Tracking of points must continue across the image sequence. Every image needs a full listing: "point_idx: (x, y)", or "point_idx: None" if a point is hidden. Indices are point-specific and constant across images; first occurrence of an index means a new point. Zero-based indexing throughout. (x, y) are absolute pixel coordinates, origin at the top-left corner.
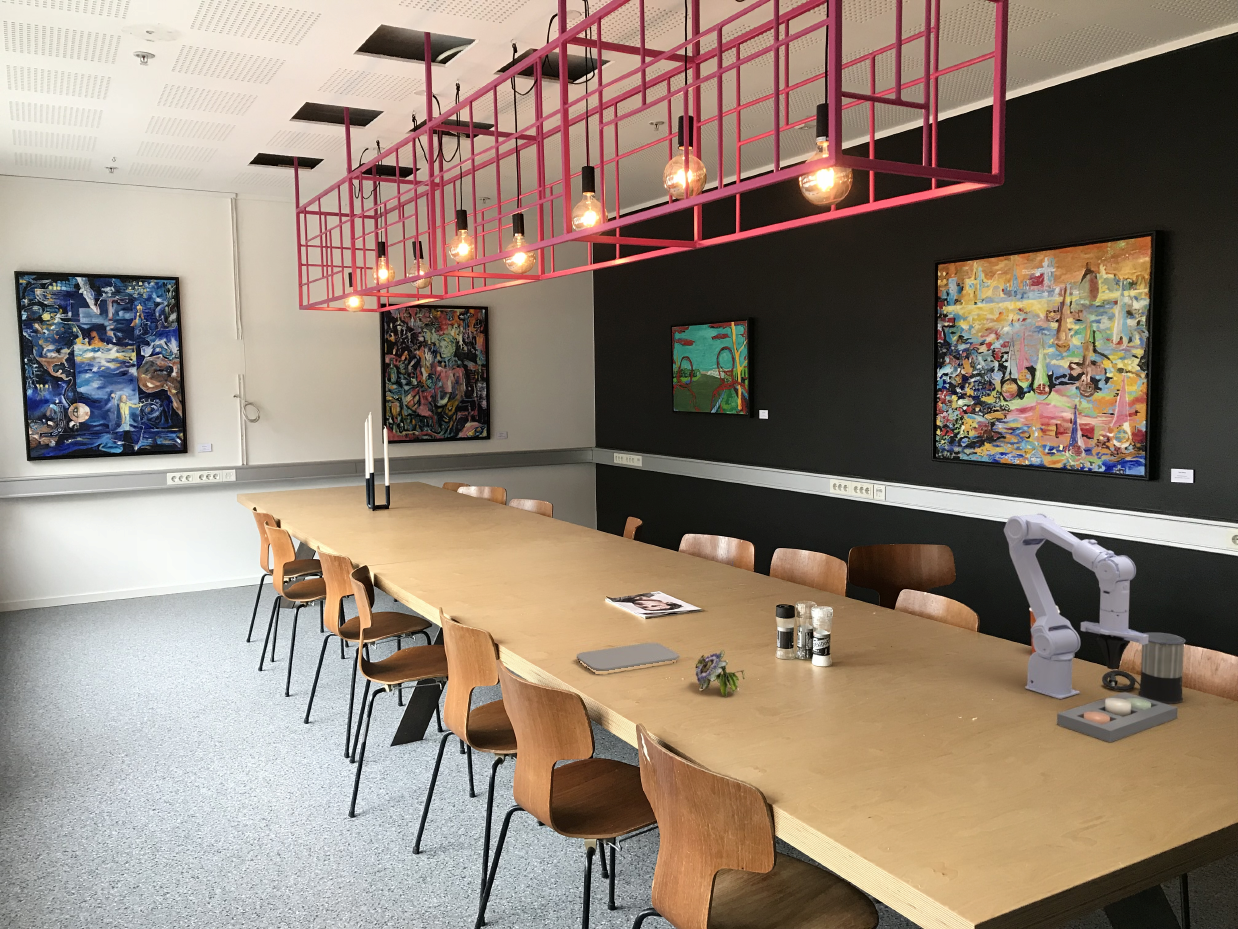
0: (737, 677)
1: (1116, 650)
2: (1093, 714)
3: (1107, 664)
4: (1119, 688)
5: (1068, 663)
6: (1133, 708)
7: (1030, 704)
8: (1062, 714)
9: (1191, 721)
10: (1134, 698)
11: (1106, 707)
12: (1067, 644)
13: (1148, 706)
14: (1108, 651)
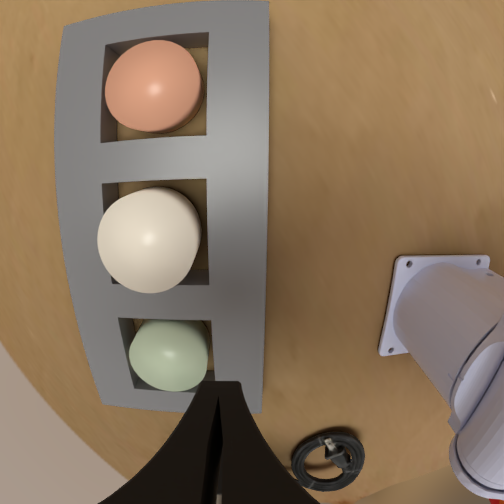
0: None
1: (127, 484)
2: (164, 82)
3: (234, 395)
4: (311, 441)
5: (451, 366)
6: (141, 303)
7: (427, 133)
8: (250, 5)
9: (86, 386)
10: (196, 381)
11: (175, 196)
12: (501, 420)
13: (130, 353)
14: (224, 473)
